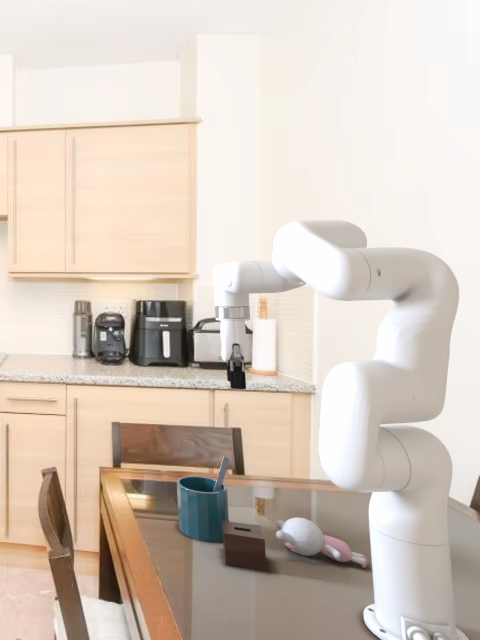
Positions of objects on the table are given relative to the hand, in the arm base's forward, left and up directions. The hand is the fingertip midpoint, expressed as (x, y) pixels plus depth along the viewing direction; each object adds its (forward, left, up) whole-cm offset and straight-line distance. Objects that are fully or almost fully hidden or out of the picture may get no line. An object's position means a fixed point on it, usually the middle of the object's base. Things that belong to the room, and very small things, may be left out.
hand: (236, 385), depth 124 cm
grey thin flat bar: (-13, +8, -29) cm, 33 cm away
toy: (-16, -12, -31) cm, 36 cm away
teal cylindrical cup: (-12, +9, -30) cm, 34 cm away
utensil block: (-23, +2, -30) cm, 38 cm away
